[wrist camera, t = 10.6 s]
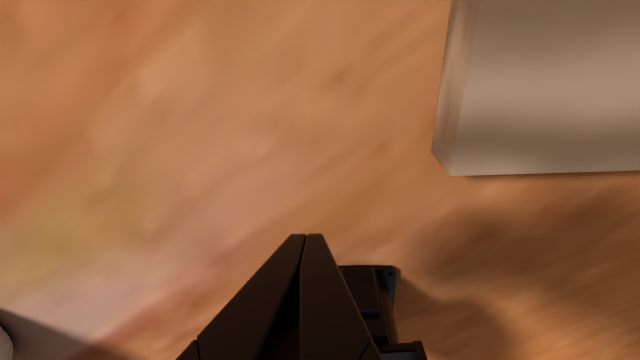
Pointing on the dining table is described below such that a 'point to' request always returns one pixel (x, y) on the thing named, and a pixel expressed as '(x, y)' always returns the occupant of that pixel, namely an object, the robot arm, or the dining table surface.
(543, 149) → the walnut board
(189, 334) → the dining table surface
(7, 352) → the canister
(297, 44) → the dining table surface
